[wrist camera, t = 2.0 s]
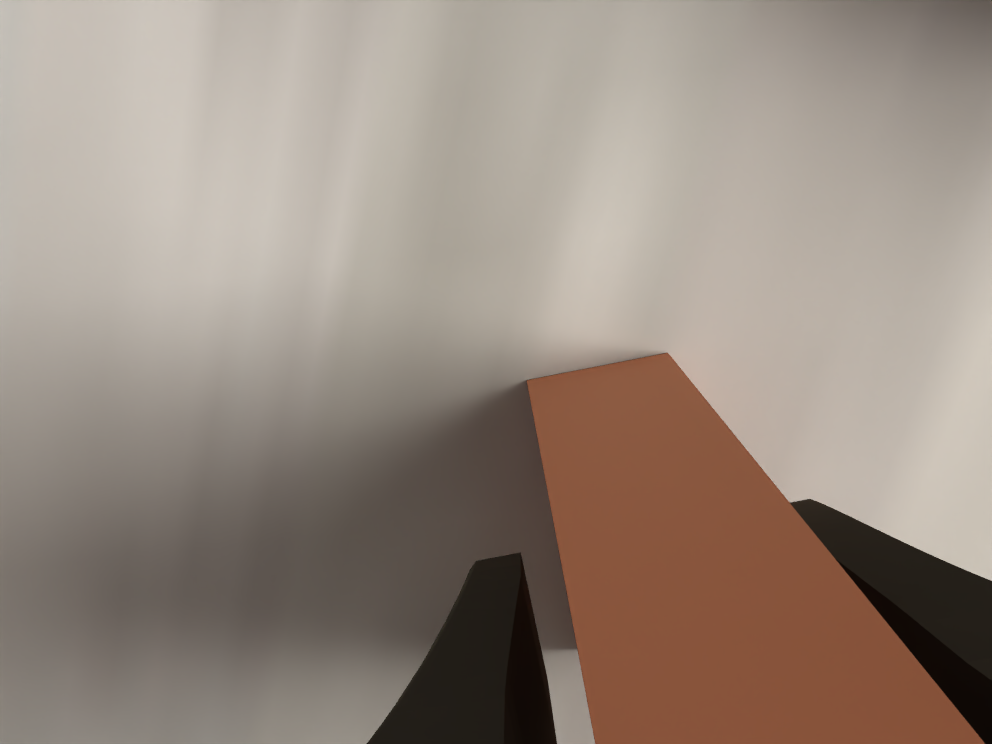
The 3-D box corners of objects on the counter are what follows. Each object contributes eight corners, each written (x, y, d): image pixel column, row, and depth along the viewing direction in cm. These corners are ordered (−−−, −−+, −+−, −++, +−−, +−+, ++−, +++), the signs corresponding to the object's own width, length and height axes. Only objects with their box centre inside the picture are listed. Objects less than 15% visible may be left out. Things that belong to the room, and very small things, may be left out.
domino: (667, 353, 12) (1105, 892, 4) (705, 627, 14) (1081, 1461, 5) (527, 380, 12) (637, 970, 4) (579, 650, 14) (745, 1508, 5)
